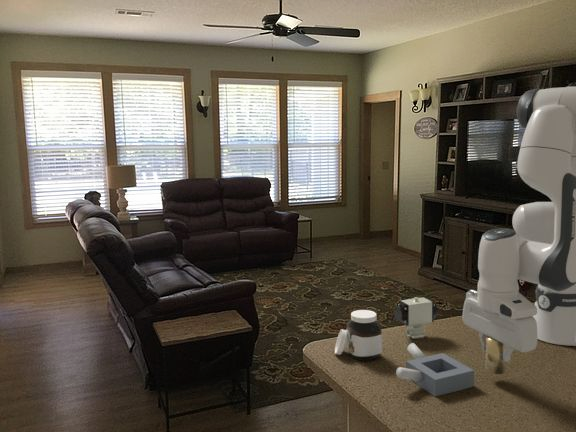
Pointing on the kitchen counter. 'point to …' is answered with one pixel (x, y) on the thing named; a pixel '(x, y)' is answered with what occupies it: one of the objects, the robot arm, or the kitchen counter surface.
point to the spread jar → (361, 336)
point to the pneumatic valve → (416, 315)
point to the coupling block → (436, 372)
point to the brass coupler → (494, 356)
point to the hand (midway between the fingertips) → (495, 355)
